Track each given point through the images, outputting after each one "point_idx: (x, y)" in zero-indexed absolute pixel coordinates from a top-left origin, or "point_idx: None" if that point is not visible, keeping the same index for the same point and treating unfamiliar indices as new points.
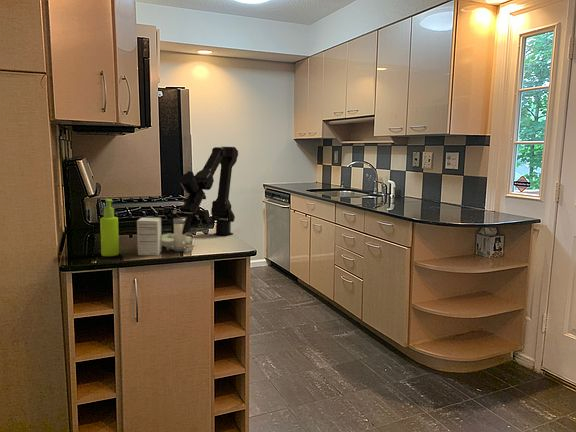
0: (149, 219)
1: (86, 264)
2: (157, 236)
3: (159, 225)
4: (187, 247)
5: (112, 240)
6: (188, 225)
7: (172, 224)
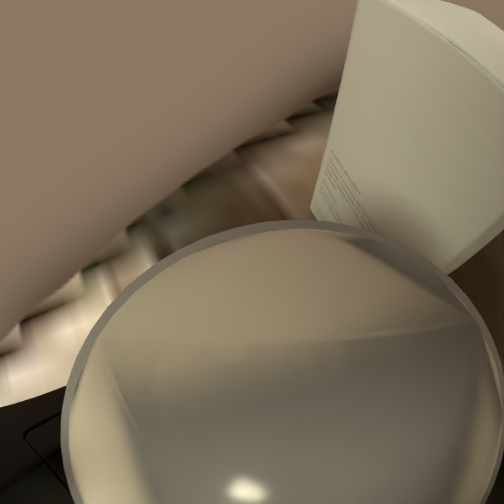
0: (476, 25)
1: None
2: (334, 112)
3: (409, 91)
4: None
5: None
6: None
7: None
